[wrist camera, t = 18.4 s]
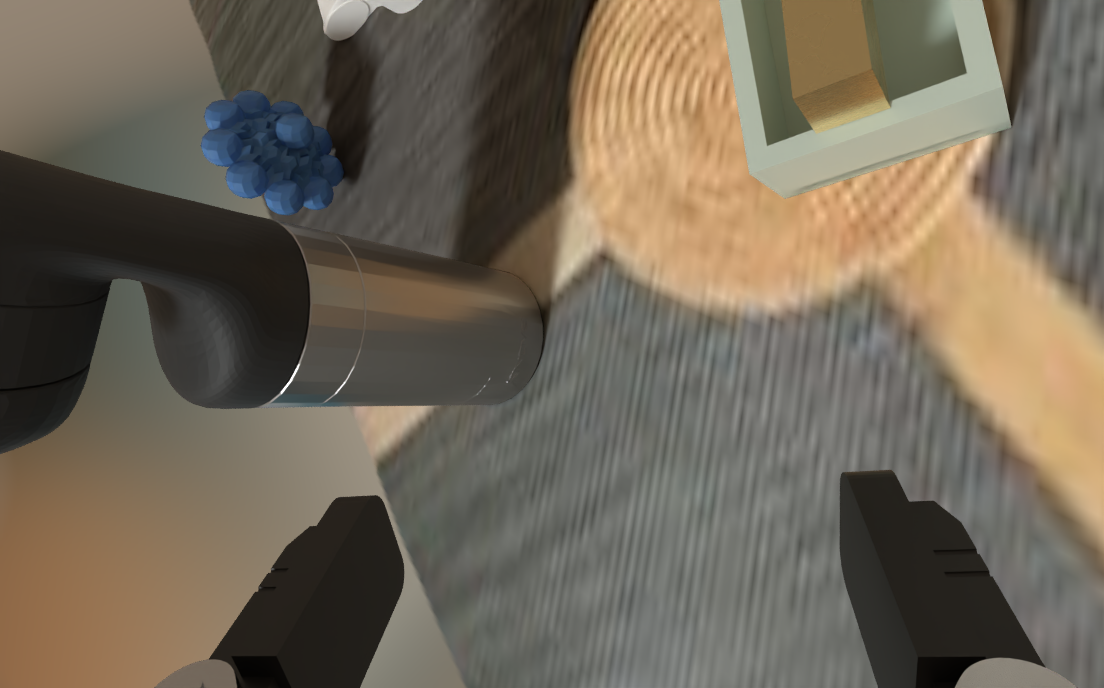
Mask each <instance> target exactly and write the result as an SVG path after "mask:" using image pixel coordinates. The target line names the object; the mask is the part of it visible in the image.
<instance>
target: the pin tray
mask: <svg viewBox="0 0 1104 688" xmlns="http://www.w3.org/2000/svg"><path fill="white" fill-rule="evenodd" d="M719 1H720V7H721V13H722V19H723V24H724V30H725V36H726V42H727V47H728V53H729V59H730V65H731V70H732V76H733V82H734V88H735V93H736V99H737V105H738V111H739V117H740V122H741V128H742V134H743V140H744V145H745V151H746V157H747V163H748V168H749V174H750V175H752V176H753V177H754V178H756V179H757V180H759V181H760V182H762V183H763V184H764V185H766V186H767V187H769V188H770V189H772V190H773V191H774V192H776V193H777V194H779V195H780V196H782V197H783V198H785V199H786V198H789V197H792V196H796V195H799V194H802V193H805V192H808V191H812V190H815V189H818V188H821V187H824V186H827V185H831V184H834V183H837V182H840V181H843V180H846V179H850V178H853V177H856V176H859V175H862V174H866V173H869V172H872V171H875V170H878V169H881V168H885V167H888V166H891V165H894V164H897V163H900V162H904V161H907V160H910V159H913V158H916V157H920V156H923V155H926V154H929V153H932V152H935V151H939V150H942V149H945V148H948V147H951V146H954V145H958V144H961V143H964V142H967V141H970V140H974V139H977V138H980V137H983V136H986V135H989V134H993V133H996V132H999V131H1002V130H1005V129H1009V128H1012V127H1011V122H1010V118H1009V113H1008V108H1007V103H1006V99H1005V94H1004V89H1003V85H1002V81H1001V77H1000V73H999V68H998V64H997V60H996V56H995V52H994V48H993V44H992V39H991V35H990V31H989V27H988V23H987V19H986V15H985V10H984V6H983V2H982V0H873V5H874V11H875V17H876V23H877V29H878V35H879V41H880V47H881V53H882V60H883V66H884V72H885V78H886V84H887V90H888V96H889V102H890V108H889V109H887V110H884V111H881V112H878V113H875V114H872V115H869V116H866V117H863V118H861V119H858V120H855V121H852V122H849V123H846V124H843V125H840V126H837V127H835V128H832V129H829V130H826V131H823V132H820V133H817V134H816V133H815V131H814V130H813V128H812V127H811V125H810V124H809V122H808V121H807V119H806V118H805V116H804V115H803V113H802V112H801V110H800V109H799V107H798V106H797V104H796V103H795V101H794V100H793V97H792V88H791V80H790V71H789V63H788V54H787V45H786V37H785V28H784V19H783V11H782V2H781V0H719Z"/></svg>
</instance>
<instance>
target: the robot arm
mask: <svg viewBox="0 0 1104 688" xmlns="http://www.w3.org/2000/svg"><path fill="white" fill-rule="evenodd" d="M118 278H121V279H131V280H136V281H140V282H141V284H142V286H143V289H144V292H145V295H146V299H147V303H148V308H149V315H150V321H151V328H152V334H153V340H154V344H155V349H156V353H157V356H158V359H159V362H160V365H161V367H162V370H163V372H164V373H165V375H166V377H167V379H168V381H169V382H170V384H171V386H172V387H173V388H174V389H175V390H176V392H178V394H179V395H181V396H182V397H183V398H185V399H186V400H187V401H189V402H191V403H193V404H195V405H199V406H202V407H206V408H220V409H232V408H235V409H236V408H272V407H273V408H275V407H276V408H277V407H278V408H280V407H340V406H432V405H448V406H451V405H493V404H499V403H502V402H505V401H507V400H509V399H511V398H513V397H514V396H515V395H516V394H518V393H519V392H520V391H521V390H522V389H523V388H524V387H525V385H526V384H527V383H528V382H529V381H530V379H531V377H532V375H533V373H534V371H535V369H536V367H537V364H538V361H539V358H540V355H541V349H542V342H543V324H542V318H541V313H540V309H539V307H538V304H537V302H536V299H535V297H534V295H533V294H532V292H531V291H530V289H529V288H528V286H527V285H526V284H525V283H523V282H522V281H521V280H520V279H519V278H518V277H516V276H514V275H512V274H510V273H508V272H503V271H499V270H495V269H491V268H486V267H482V266H478V265H473V264H469V263H465V262H461V261H457V260H452V259H448V258H443V257H439V256H434V255H430V254H425V253H421V252H416V251H412V250H407V249H403V248H398V247H394V246H389V245H385V244H380V243H376V242H371V241H367V240H362V239H358V238H353V237H349V236H344V235H340V234H335V233H331V232H325V231H321V230H316V229H312V228H307V227H303V226H298V225H294V224H289V223H285V222H280V221H276V220H271V219H266V218H262V217H257V216H252V215H248V214H243V213H239V212H235V211H231V210H227V209H223V208H219V207H215V206H210V205H207V204H203V203H199V202H195V201H191V200H186V199H182V198H178V197H174V196H169V195H165V194H160V193H156V192H152V191H147V190H144V189H139V188H135V187H131V186H127V185H124V184H120V183H116V182H112V181H108V180H105V179H101V178H97V177H94V176H90V175H86V174H83V173H79V172H75V171H72V170H69V169H65V168H61V167H58V166H54V165H51V164H47V163H44V162H40V161H37V160H33V159H29V158H26V157H23V156H19V155H16V154H12V153H9V152H5V151H1V150H0V454H2V453H5V452H8V451H11V450H14V449H16V448H19V447H21V446H24V445H26V444H28V443H31V442H33V441H35V440H38V439H40V438H42V437H44V436H46V435H48V434H49V433H51V432H52V431H54V430H55V429H56V428H58V427H59V426H60V425H61V424H62V423H63V422H64V421H65V420H66V419H67V418H68V417H69V415H70V413H71V412H72V410H73V408H74V407H75V405H76V403H77V401H78V399H79V397H80V395H81V392H82V390H83V387H84V385H85V382H86V379H87V375H88V372H89V368H90V363H91V359H92V356H93V353H94V349H95V345H96V341H97V337H98V333H99V329H100V325H101V321H102V317H103V313H104V309H105V306H106V301H107V297H108V294H109V290H110V285H111V282H112V280H113V279H118ZM840 557H841V565H842V571H843V576H844V580H845V584H846V588H847V591H848V594H849V597H850V600H851V604H852V607H853V610H854V613H855V616H856V619H857V623H858V626H859V629H860V632H861V635H862V638H863V641H864V645H865V648H866V651H867V654H868V657H869V660H870V663H871V667H872V670H873V673H874V676H875V679H876V682H877V685H878V688H1077V687H1076V686H1075V685H1074V684H1072V683H1071V682H1070V681H1068V680H1067V679H1065V678H1064V677H1062V676H1060V675H1059V674H1057V673H1055V672H1053V671H1051V670H1049V669H1047V668H1046V667H1045V666H1044V664H1043V663H1042V661H1041V660H1040V658H1039V656H1038V654H1037V653H1036V651H1035V649H1034V648H1033V646H1032V644H1031V642H1030V641H1029V639H1028V637H1027V635H1026V634H1025V632H1024V630H1023V628H1022V627H1021V625H1020V623H1019V622H1018V620H1017V618H1016V616H1015V615H1014V613H1013V611H1012V609H1011V608H1010V606H1009V604H1008V603H1007V601H1006V599H1005V597H1004V596H1003V594H1002V592H1001V590H1000V589H999V587H998V585H997V584H996V582H995V580H994V578H993V577H990V574H989V570H988V568H987V566H986V565H985V563H984V561H983V559H982V558H981V556H980V554H977V550H976V547H975V546H974V544H973V542H972V540H971V539H970V537H969V535H968V533H967V532H966V530H965V528H964V526H963V525H962V523H961V522H960V521H959V520H957V519H956V518H955V517H954V516H952V515H951V514H950V513H948V512H947V511H946V510H945V509H943V508H942V507H941V506H940V505H938V504H937V503H936V502H935V501H916V502H909V501H908V499H907V497H906V495H905V493H904V491H903V489H902V487H901V485H900V483H899V481H898V479H897V477H896V475H895V473H894V472H893V471H892V470H880V471H860V472H843V473H842V474H841V478H840ZM403 583H404V563H403V559H402V555H401V552H400V550H399V546H398V544H397V540H396V537H395V535H394V531H393V528H392V525H391V522H390V519H389V516H388V513H387V510H386V508H385V505H384V502H383V501H382V499H381V498H380V497H378V496H376V495H375V496H355V497H339V498H336V499H335V500H334V501H333V502H332V503H331V505H330V506H329V508H328V509H327V511H326V512H325V514H324V516H323V517H322V518H321V520H320V522H319V523H318V525H317V526H310V527H309V528H308V529H306V530H305V531H304V532H303V533H302V534H300V535H299V536H298V537H297V538H296V539H294V541H292V542H291V543H290V544H289V545H287V546H286V548H285V549H284V551H283V552H282V554H281V555H280V556H279V558H278V559H277V561H276V563H275V564H274V565H273V567H272V568H271V573H268V574H267V575H266V577H265V578H264V580H263V581H262V583H261V584H260V585H259V590H258V592H255V593H254V594H253V596H252V597H251V599H250V600H249V602H248V603H247V604H246V606H245V607H244V609H243V610H242V612H241V613H240V615H239V616H238V617H237V619H236V620H235V622H234V623H233V625H232V626H231V628H230V629H229V631H228V632H227V633H226V635H225V636H224V638H223V639H222V641H221V642H220V644H219V645H218V647H217V648H216V649H215V651H214V652H213V654H212V655H211V657H210V658H209V660H203V661H199V662H195V663H192V664H190V665H187V666H185V667H183V668H181V669H179V670H177V671H175V672H174V673H172V674H171V675H169V676H168V677H166V678H165V679H164V680H162V681H161V682H160V683H159V684H158V685H157V686H156V687H154V688H360V686H361V684H362V681H363V679H364V677H365V675H366V672H367V670H368V668H369V665H370V663H371V661H372V659H373V656H374V654H375V652H376V650H377V647H378V645H379V642H380V640H381V638H382V636H383V633H384V631H385V629H386V627H387V624H388V622H389V620H390V618H391V615H392V613H393V611H394V609H395V606H396V604H397V601H398V599H399V597H400V595H401V592H402V588H403Z"/></svg>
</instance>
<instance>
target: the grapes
mask: <svg viewBox="0 0 1104 688" xmlns="http://www.w3.org/2000/svg"><path fill="white" fill-rule="evenodd" d="M204 118H205V120H206V124H207V126H208V128H209V129H210V130H209V131H208V132H207V133H206V134H205V135H204V136H203V138H202V142H201V148H202V150H203V153H204V156H205V157H206V158H207V159H208V161H210V162H211V163H214V164H216V165H218V166H225V167H229V166H230V167H229V168H228V169H227V173H226V181H227V184H228V187H229V189H230V190H231V191H232V192H233V193H234V194H235V195H238V196H240V197H243V198H251V199H252V198H255V197H258V196H261V195H262V194H263V193H264V192H265V194H264V197H265V201H266V204H267V206H268V207H269V208H270V209H271V210H272V211H273V212H275V213H277V214H280V215H291V214H294V213H297V212H298V211H299V210H300V209H301V208H302V207H303V206H305V207H307V208H309V209H313V210H320V209H324V208H327V207H328V206H329V204H330V203H331V202H332V200H333V194H334V193H333V189H332V187H334V186H337V185H338V184H339V183H340V182H341V181H342V178H343V173H344V172H343V167H342V164H341V163H340V161H339V160H338V159H337V158H336V157H334V156H332V155H328V154H329V153H330V152H331V149H332V140H331V136H330V135H329V133H328V131H327V130H325V129H324V128H321V127H318V126H313V125H312V123H311V122H310V120H309V119H308V118H307V117H306V116H304V114H303V112H302V110H301V108H300V107H299V106H298V105H297V104H295V103H292V102H288V101H281V102H277V103H274V104H273V105H272V106H270V102H269V101H268V99H267V98H266V96H265V95H263V94H262V93H260V92H257V91H251V90H246V91H242V92H239V93H238V94H237V95H236V96H235V97H234V98H233V102H232V101H227V100H219V101H215V102H212V103H211V104H210V105H209V106H208V107H207V108H206V111H205V115H204Z"/></svg>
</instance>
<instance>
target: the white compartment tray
mask: <svg viewBox="0 0 1104 688" xmlns="http://www.w3.org/2000/svg"><path fill="white" fill-rule="evenodd" d="M317 1H318V4H319V8H320V11H321V15H322V19H323V22H324V26H323V29H324V33H325V34H327V35H328V37H329V38H331V39H332V40H336V41H340V40H344V39H347V38H349V37H351V36H353V35H354V34H355V33H356V32H357V31H358V30H359V28H360V27H361V26H362V25H363V24H364V23H365V22H366V20H367V18H368V16H369V15H370V14H371V13H372V12H373V11H374V10H375V9H376V7H378V6H385V7H386V8H388V9H390V10H392V11H393V12H396V13H406V12H408V11H410V10H412V9H414V8H415V7H416V6H417V5H418V4H419V3H420V2H421V1H422V0H317Z"/></svg>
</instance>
